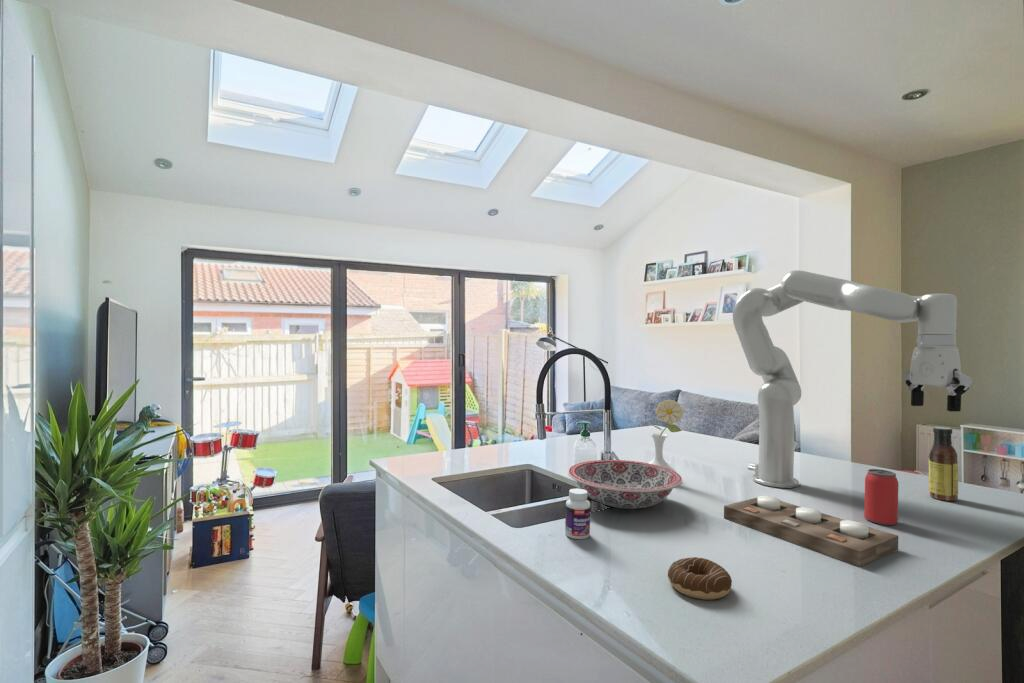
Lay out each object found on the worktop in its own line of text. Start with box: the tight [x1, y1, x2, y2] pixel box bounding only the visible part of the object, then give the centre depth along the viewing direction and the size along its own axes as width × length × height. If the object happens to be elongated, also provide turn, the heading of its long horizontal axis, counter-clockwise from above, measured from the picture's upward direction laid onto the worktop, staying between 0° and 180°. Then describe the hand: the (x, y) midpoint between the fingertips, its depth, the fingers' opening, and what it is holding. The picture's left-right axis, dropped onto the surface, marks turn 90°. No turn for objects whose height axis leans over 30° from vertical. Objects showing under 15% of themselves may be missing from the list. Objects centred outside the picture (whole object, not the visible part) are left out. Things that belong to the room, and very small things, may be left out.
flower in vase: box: [648, 398, 685, 473], centre depth 156 cm, size 13×11×25 cm
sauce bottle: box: [928, 426, 959, 502], centre depth 141 cm, size 7×6×20 cm
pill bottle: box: [564, 488, 591, 540], centre depth 111 cm, size 5×5×10 cm
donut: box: [667, 556, 733, 601], centre depth 89 cm, size 11×11×4 cm
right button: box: [840, 519, 870, 539], centre depth 107 cm, size 5×5×2 cm
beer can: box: [863, 468, 899, 526], centre depth 123 cm, size 7×7×12 cm
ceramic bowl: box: [567, 459, 683, 510], centre depth 133 cm, size 29×29×8 cm
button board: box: [723, 496, 899, 568], centre depth 115 cm, size 30×16×3 cm, turn 31°
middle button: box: [796, 506, 822, 524], centre depth 115 cm, size 5×5×2 cm
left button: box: [756, 495, 781, 511], centre depth 124 cm, size 5×5×2 cm
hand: (934, 408), depth 130 cm, fingers open, 9 cm apart
